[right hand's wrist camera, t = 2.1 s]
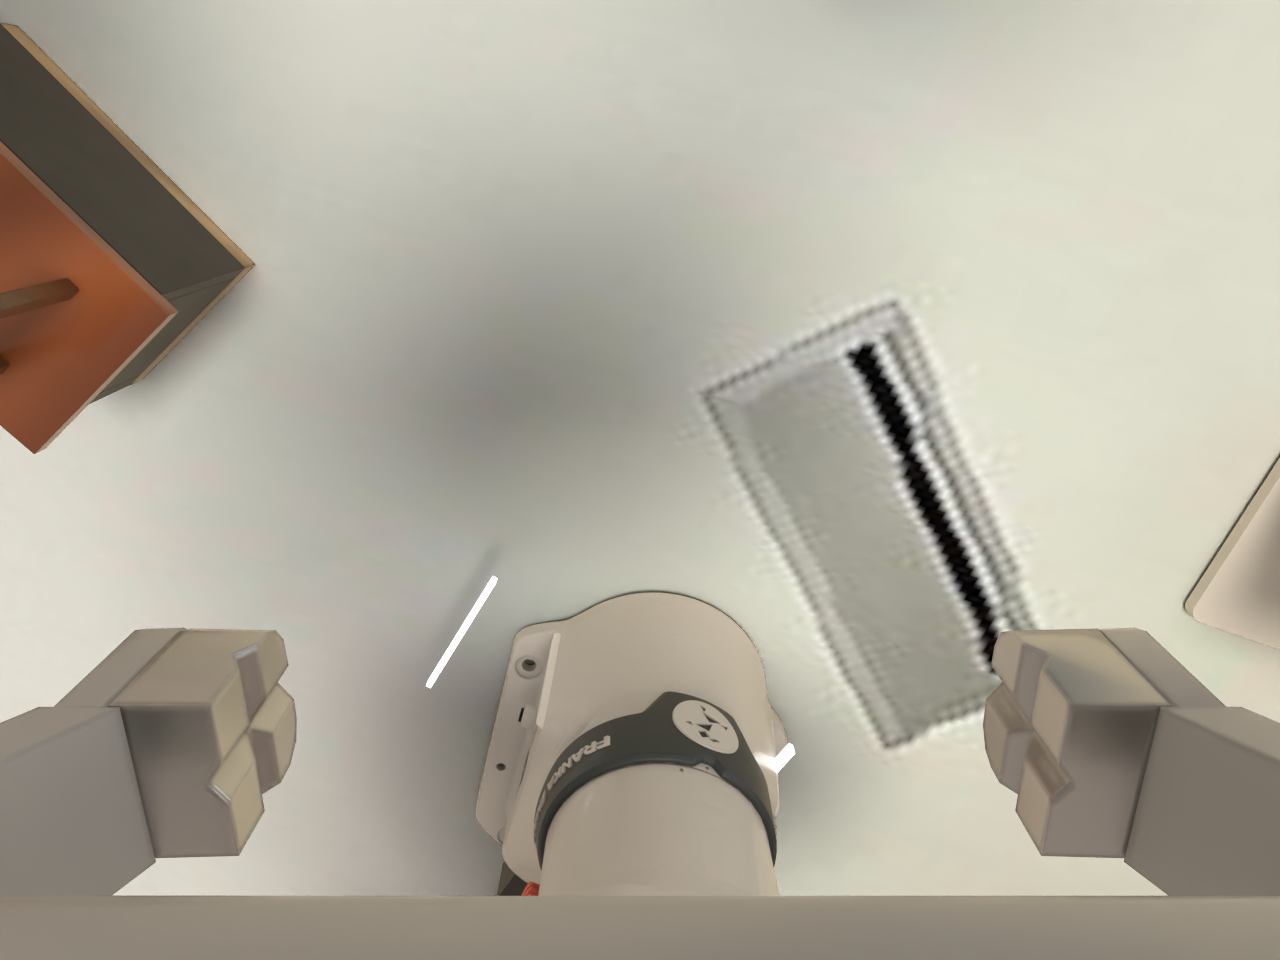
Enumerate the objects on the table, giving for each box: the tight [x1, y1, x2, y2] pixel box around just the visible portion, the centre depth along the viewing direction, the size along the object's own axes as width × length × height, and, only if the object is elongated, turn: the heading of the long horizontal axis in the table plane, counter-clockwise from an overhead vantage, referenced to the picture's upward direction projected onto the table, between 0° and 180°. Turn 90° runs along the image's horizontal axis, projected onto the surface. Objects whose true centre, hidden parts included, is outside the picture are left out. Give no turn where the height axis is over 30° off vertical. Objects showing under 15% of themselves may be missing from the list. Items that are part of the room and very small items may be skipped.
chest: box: [0, 23, 255, 404], centre depth 42 cm, size 15×10×10 cm, turn 41°
